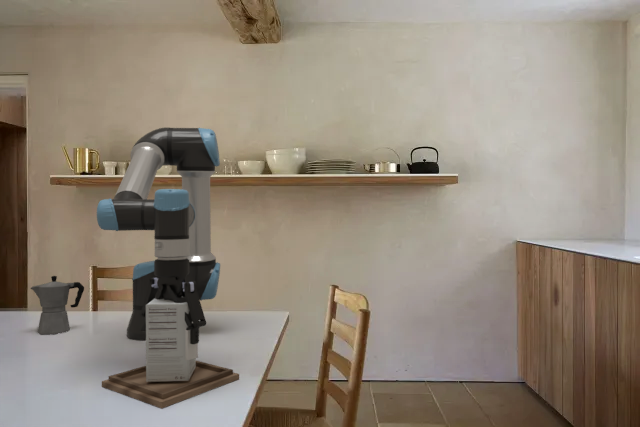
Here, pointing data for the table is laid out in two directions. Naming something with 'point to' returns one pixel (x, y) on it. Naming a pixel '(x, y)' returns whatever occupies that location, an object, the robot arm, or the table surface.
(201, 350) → the table surface
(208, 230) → the robot arm
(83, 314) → the table surface
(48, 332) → the coffeepot
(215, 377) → the walnut tray
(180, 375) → the supplement box
